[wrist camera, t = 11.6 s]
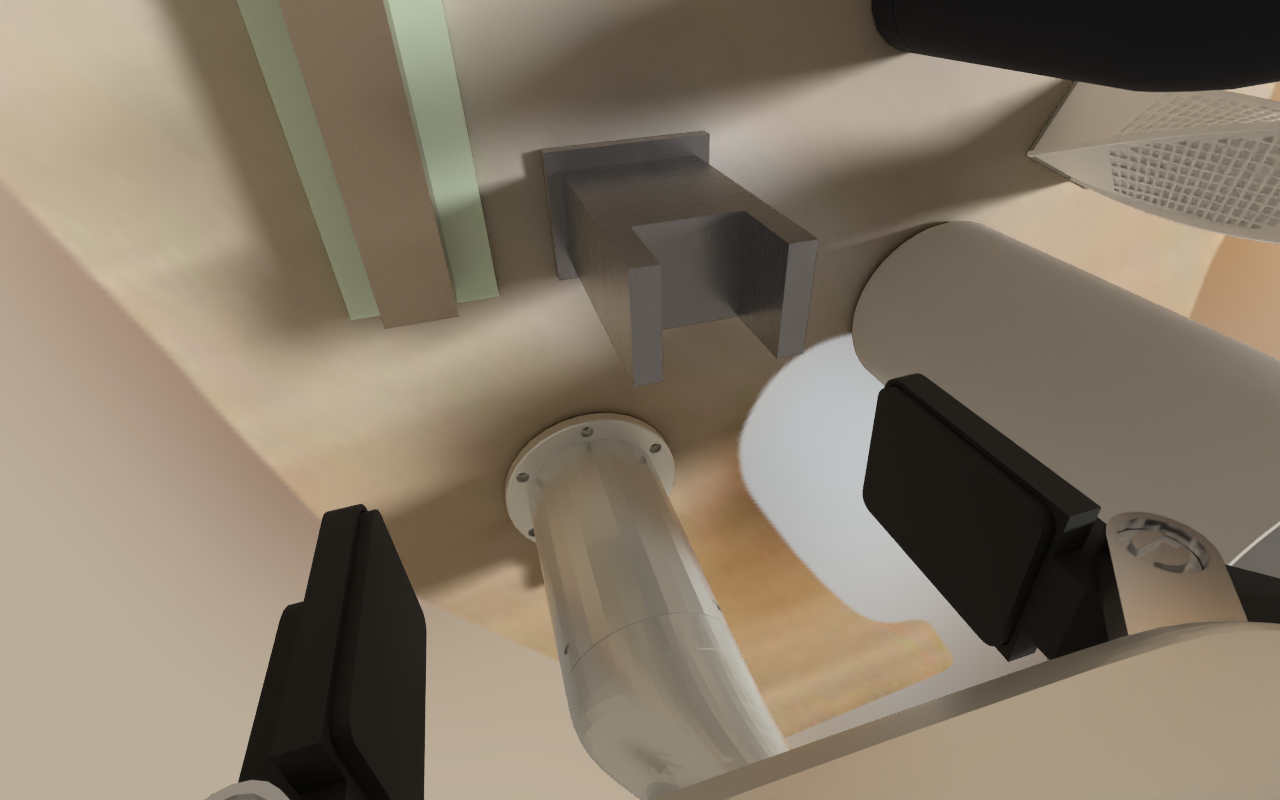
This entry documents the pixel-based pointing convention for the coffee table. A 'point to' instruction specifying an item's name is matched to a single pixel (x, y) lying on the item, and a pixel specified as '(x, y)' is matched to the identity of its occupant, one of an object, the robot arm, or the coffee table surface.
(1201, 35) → the wine bottle
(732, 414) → the coffee table surface
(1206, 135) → the skyscraper
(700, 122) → the coffee table surface
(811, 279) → the post
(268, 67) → the mat
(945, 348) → the cylinder vase
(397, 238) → the rail
